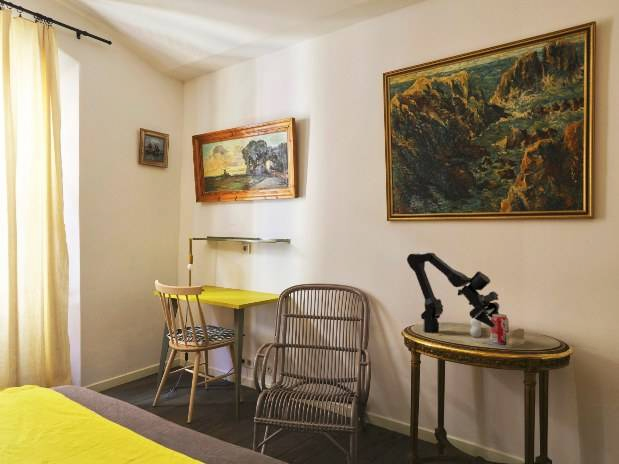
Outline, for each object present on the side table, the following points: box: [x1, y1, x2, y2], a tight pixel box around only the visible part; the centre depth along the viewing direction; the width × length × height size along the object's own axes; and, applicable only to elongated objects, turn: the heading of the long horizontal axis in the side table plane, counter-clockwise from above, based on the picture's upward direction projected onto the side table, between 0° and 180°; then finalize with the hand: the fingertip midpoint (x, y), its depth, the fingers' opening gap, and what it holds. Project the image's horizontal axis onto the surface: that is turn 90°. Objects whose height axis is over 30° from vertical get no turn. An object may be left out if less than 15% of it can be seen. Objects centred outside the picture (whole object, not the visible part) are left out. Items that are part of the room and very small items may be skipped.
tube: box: [469, 317, 482, 338], centre depth 211 cm, size 5×5×25 cm
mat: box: [482, 338, 507, 348], centre depth 189 cm, size 10×10×1 cm
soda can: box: [490, 313, 510, 344], centre depth 188 cm, size 7×7×12 cm
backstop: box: [506, 328, 525, 349], centre depth 186 cm, size 2×14×6 cm, turn 134°
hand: (498, 325), depth 189 cm, fingers open, 9 cm apart
